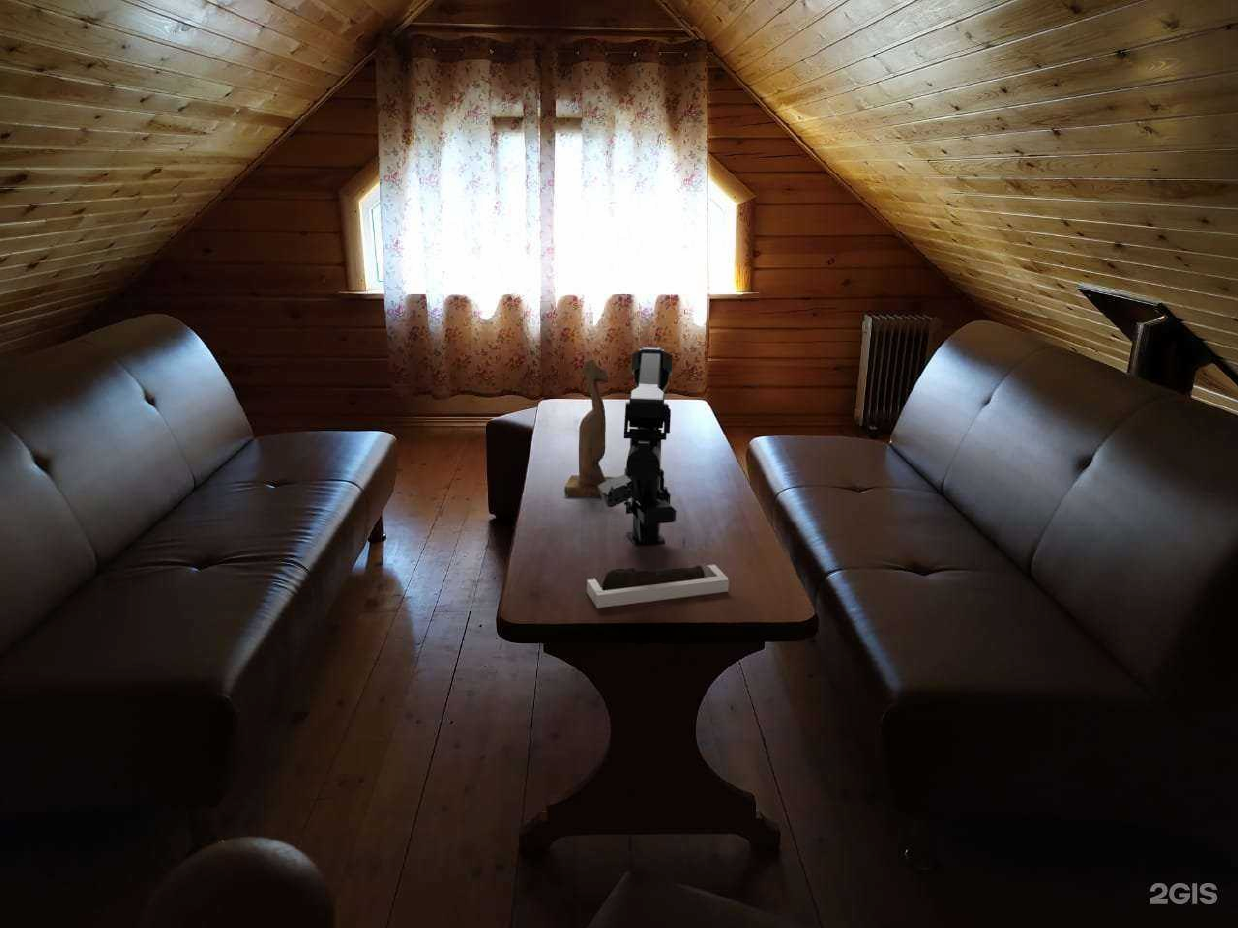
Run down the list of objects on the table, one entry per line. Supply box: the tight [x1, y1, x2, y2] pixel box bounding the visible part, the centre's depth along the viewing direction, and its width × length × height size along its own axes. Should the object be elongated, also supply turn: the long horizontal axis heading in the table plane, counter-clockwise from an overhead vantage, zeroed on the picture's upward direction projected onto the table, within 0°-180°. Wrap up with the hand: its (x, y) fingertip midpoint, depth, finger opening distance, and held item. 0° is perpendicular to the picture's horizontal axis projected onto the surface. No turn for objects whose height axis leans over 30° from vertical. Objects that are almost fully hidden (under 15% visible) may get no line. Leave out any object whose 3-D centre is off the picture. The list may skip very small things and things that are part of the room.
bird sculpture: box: [563, 359, 616, 499], centre depth 208 cm, size 11×12×32 cm
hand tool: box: [601, 565, 706, 591], centre depth 162 cm, size 19×4×5 cm, turn 100°
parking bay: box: [586, 564, 730, 609], centre depth 160 cm, size 6×25×2 cm, turn 108°
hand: (642, 541), depth 167 cm, fingers closed
